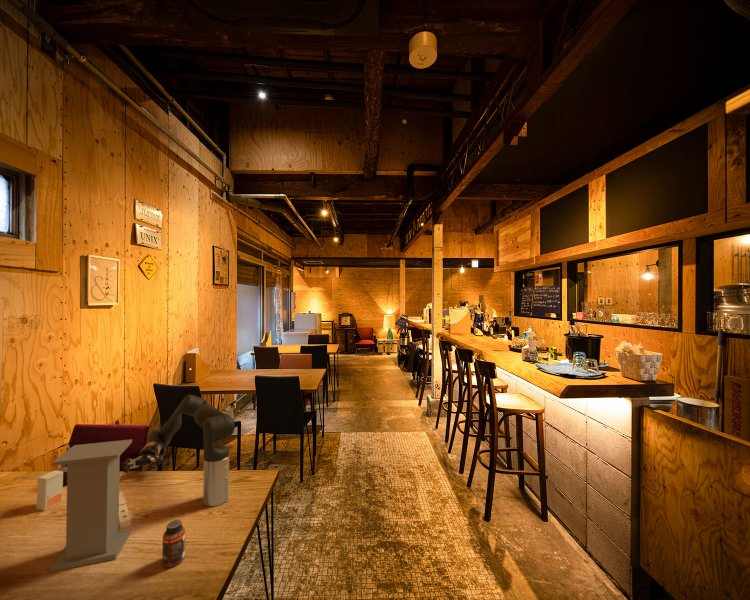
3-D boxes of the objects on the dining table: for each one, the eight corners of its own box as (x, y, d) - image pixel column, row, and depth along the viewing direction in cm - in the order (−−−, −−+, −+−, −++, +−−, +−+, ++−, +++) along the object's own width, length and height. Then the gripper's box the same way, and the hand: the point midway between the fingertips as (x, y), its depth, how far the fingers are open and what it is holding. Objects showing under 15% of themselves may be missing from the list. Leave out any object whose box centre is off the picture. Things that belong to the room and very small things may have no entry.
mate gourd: (69, 488, 139) (69, 452, 139) (50, 487, 139) (51, 452, 139) (85, 478, 146) (85, 444, 146) (67, 478, 146) (68, 444, 146)
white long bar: (121, 496, 134) (121, 489, 134) (130, 525, 117) (131, 518, 117) (112, 499, 132) (112, 492, 132) (120, 529, 115) (120, 522, 115)
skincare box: (44, 511, 124) (45, 479, 124) (36, 509, 124) (36, 477, 124) (63, 501, 130) (63, 471, 130) (54, 500, 130) (55, 469, 130)
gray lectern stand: (130, 533, 113) (132, 439, 113) (115, 559, 101) (117, 454, 101) (72, 543, 107) (74, 445, 108) (49, 572, 96) (51, 462, 96)
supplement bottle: (189, 556, 103) (190, 519, 103) (172, 570, 97) (172, 532, 97) (175, 551, 105) (175, 515, 105) (157, 565, 99) (158, 527, 99)
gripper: (132, 447, 155) (118, 463, 140) (167, 443, 160) (157, 458, 144) (131, 463, 155) (117, 481, 140) (166, 458, 160) (156, 475, 144)
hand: (137, 469), depth 142 cm, fingers open, 8 cm apart
